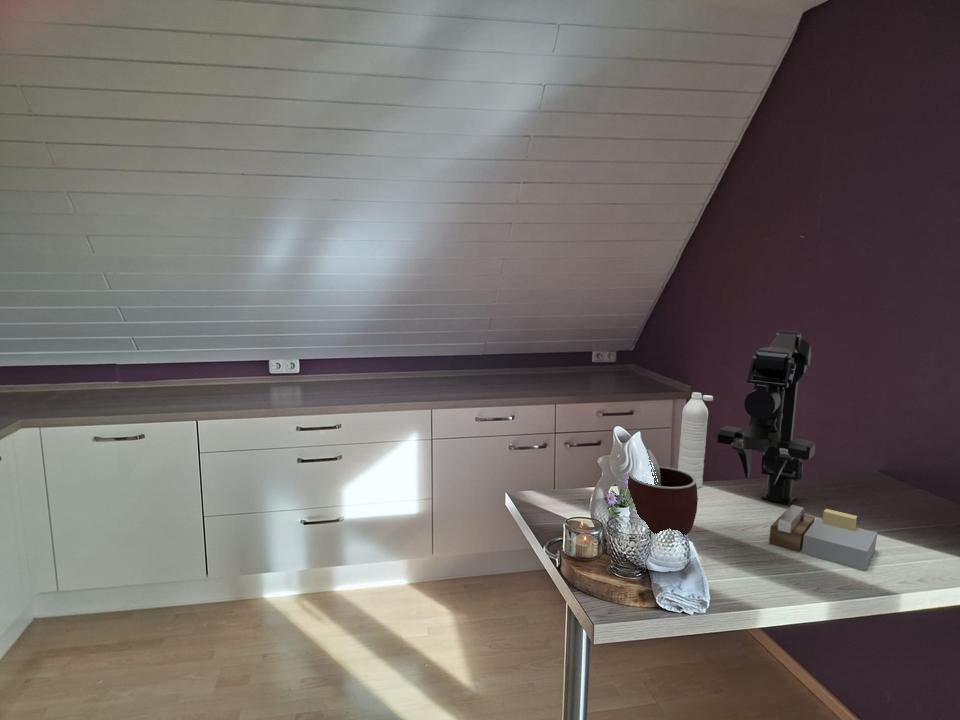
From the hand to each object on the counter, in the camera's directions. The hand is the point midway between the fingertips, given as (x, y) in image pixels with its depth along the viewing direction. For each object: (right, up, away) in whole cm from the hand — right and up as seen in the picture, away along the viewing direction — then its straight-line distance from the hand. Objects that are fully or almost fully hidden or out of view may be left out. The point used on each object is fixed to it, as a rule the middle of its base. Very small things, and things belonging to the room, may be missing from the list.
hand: (760, 480), depth 142 cm
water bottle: (-4, -8, +34) cm, 35 cm away
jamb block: (+8, -13, +2) cm, 15 cm away
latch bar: (+6, -9, 0) cm, 11 cm away
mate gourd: (-25, -14, -8) cm, 29 cm away
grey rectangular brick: (+15, -14, -4) cm, 21 cm away
